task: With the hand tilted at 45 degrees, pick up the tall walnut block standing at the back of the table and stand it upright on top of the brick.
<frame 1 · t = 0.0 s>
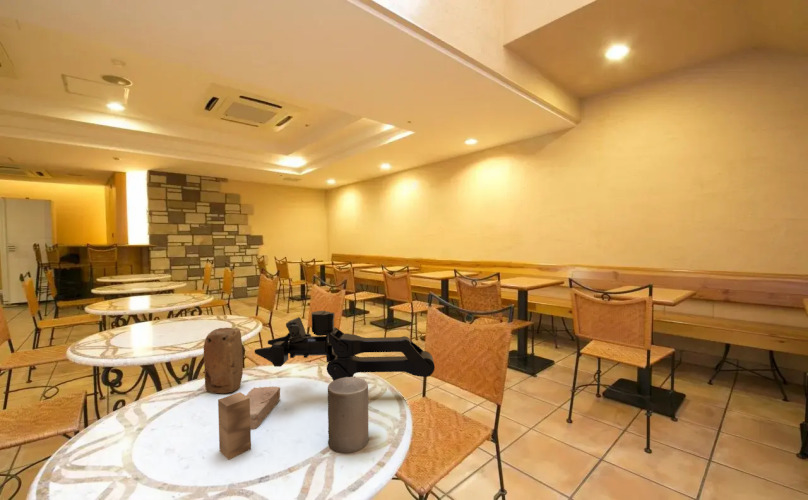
hand: (261, 346, 103), 17 cm above the table, tool horizontal, fingers open, 9 cm apart
walnut block: (235, 450, 78), on the table
brick: (255, 415, 95), on the table
block: (223, 390, 111), on the table
pillar candle: (349, 442, 81), on the table
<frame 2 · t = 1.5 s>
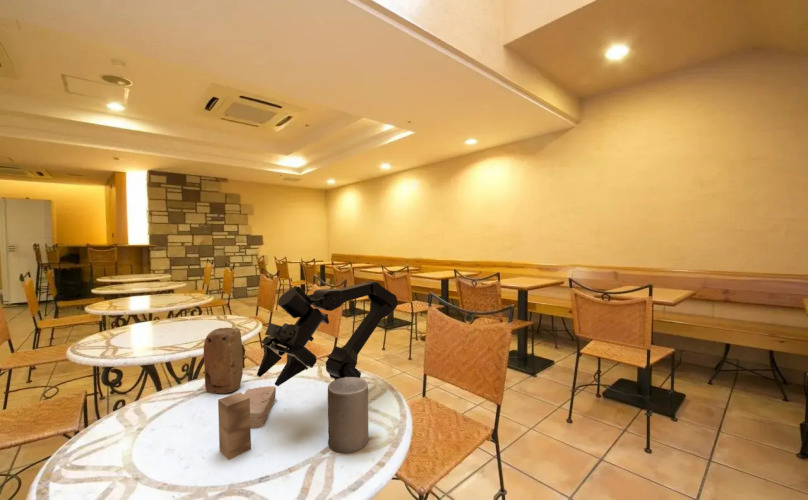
hand: (266, 380, 84), 14 cm above the table, tool tilted 45°, fingers open, 9 cm apart
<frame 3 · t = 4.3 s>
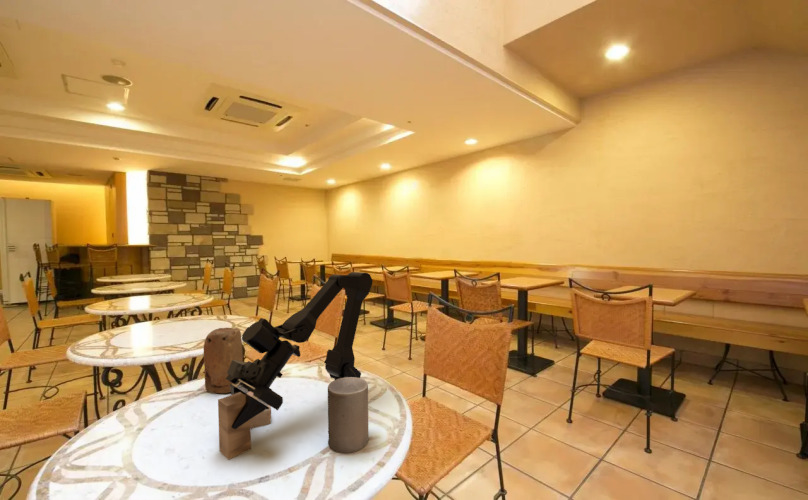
hand: (228, 424, 77), 7 cm above the table, tool tilted 45°, fingers closed on walnut block, 5 cm apart
walnut block: (235, 449, 78), on the table, touching gripper
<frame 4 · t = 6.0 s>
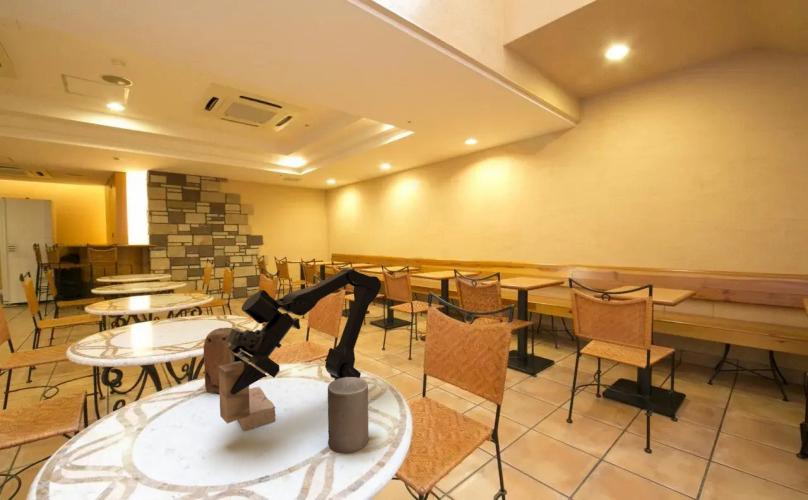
hand: (227, 390, 79), 13 cm above the table, tool tilted 45°, fingers closed on walnut block, 5 cm apart
walnut block: (235, 415, 80), point 7 cm above the table, touching gripper
when the fingers open (12 cm above the table, at t = 7.7 s): walnut block drops 1 cm, resting on brick.
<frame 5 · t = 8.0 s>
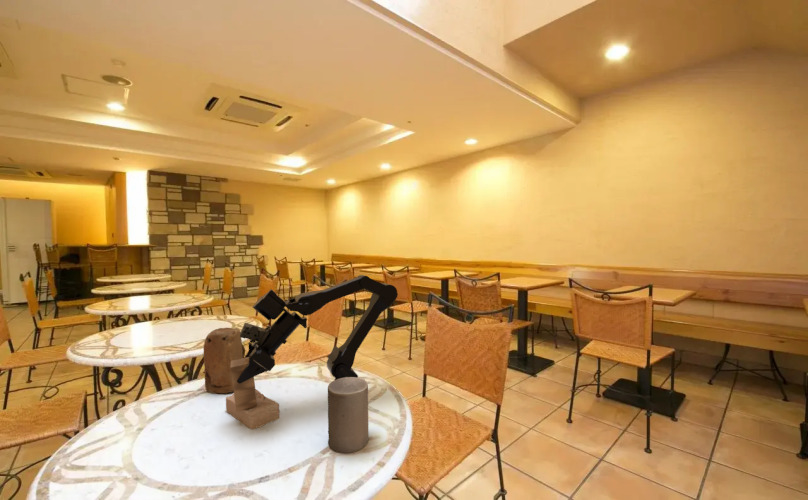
hand: (238, 376, 90), 12 cm above the table, tool tilted 45°, fingers open, 9 cm apart
walnut block: (246, 404, 91), point 4 cm above the table, tilted 6°, touching brick
brick: (252, 415, 95), on the table, touching walnut block
everything else where it was.
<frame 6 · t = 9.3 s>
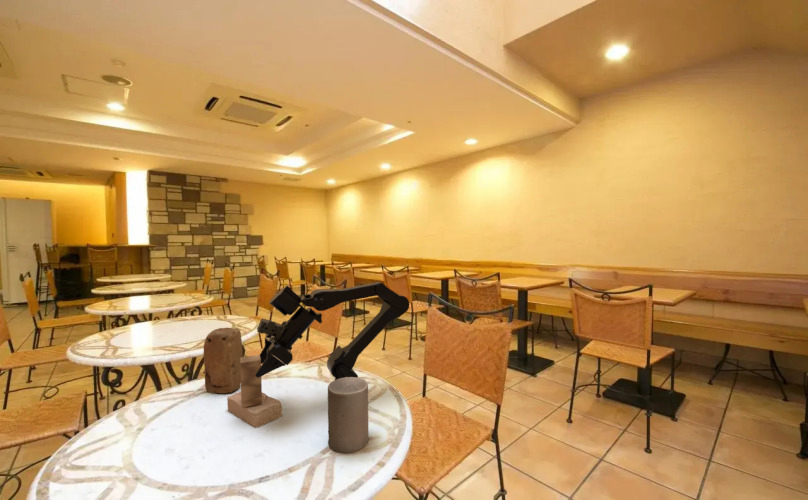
hand: (256, 370, 92), 13 cm above the table, tool tilted 45°, fingers open, 9 cm apart
walnut block: (251, 401, 93), point 4 cm above the table, touching brick
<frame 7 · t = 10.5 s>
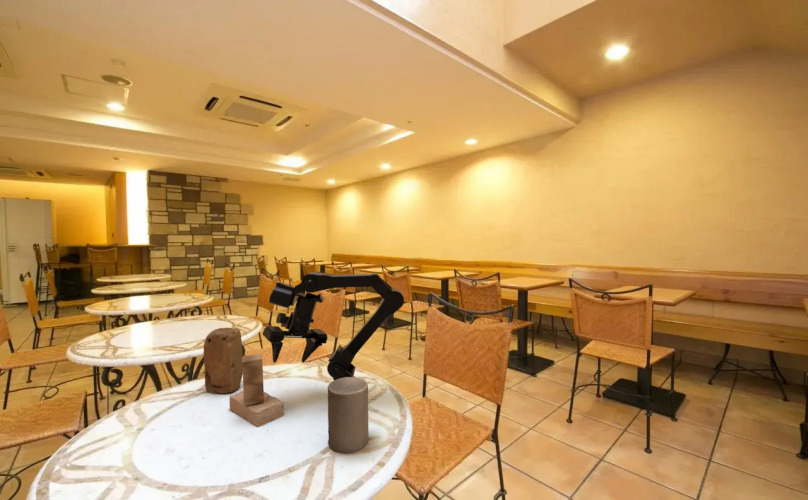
hand: (288, 362, 101), 12 cm above the table, tool tilted 20°, fingers open, 9 cm apart
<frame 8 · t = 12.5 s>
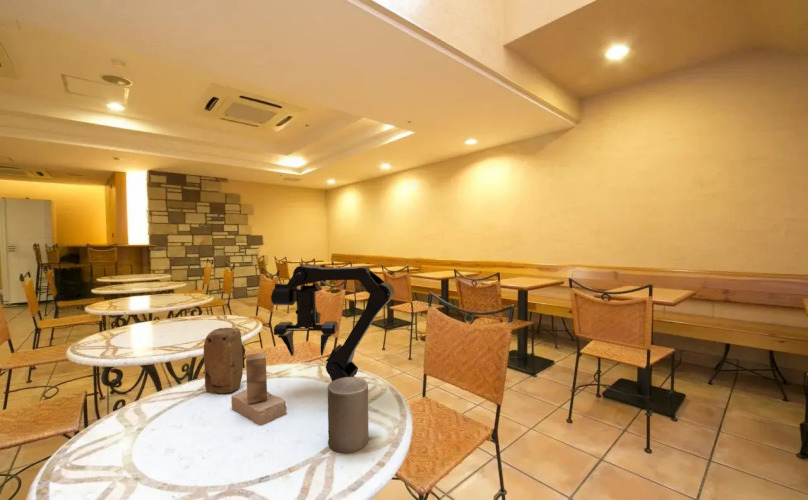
hand: (307, 355, 105), 13 cm above the table, tool pointing down, fingers open, 9 cm apart
walnut block: (257, 398, 95), point 4 cm above the table, touching brick
at the end: walnut block inside the target area on the brick (1.2 cm from its centre), point 4.9 cm above the brick's base; walnut block tilted 1°; the gripper is holding nothing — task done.
